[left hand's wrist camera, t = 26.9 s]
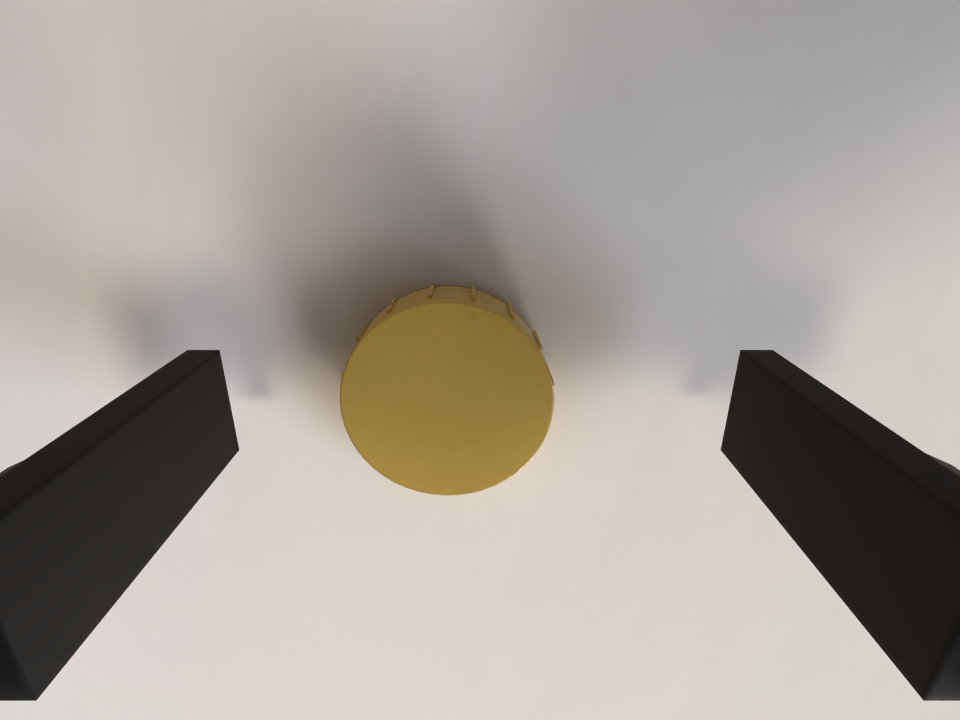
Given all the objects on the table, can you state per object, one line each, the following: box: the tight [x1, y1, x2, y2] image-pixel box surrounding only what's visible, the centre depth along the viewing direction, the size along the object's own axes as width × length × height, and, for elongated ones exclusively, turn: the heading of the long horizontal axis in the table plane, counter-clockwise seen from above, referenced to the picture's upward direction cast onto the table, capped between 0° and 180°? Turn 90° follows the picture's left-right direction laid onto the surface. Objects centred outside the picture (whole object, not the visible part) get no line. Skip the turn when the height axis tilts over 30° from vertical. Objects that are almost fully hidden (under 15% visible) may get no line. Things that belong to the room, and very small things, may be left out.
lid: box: [340, 284, 554, 495], centre depth 15 cm, size 6×6×2 cm
